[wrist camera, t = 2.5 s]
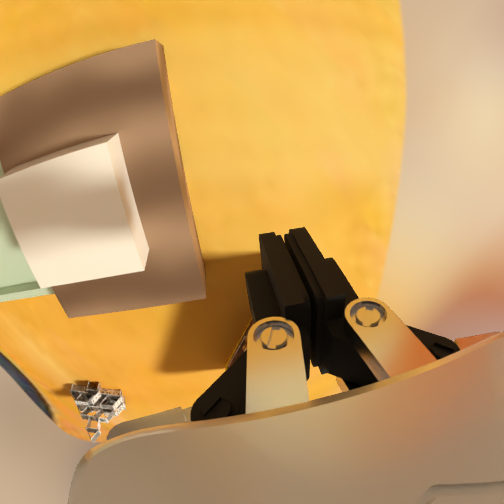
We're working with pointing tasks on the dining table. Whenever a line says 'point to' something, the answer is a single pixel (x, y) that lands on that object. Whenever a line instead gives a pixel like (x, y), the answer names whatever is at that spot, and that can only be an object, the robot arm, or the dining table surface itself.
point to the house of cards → (97, 404)
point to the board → (136, 159)
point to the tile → (76, 214)
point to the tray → (15, 265)
